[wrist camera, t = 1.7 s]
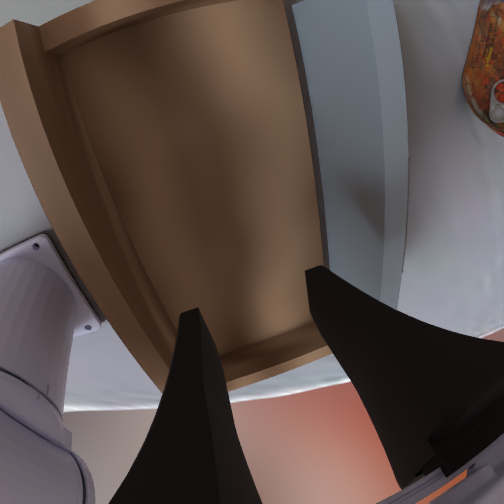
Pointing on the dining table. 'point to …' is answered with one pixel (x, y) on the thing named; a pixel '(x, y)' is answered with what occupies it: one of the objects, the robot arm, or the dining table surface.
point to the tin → (487, 66)
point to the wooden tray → (175, 172)
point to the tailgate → (359, 137)
